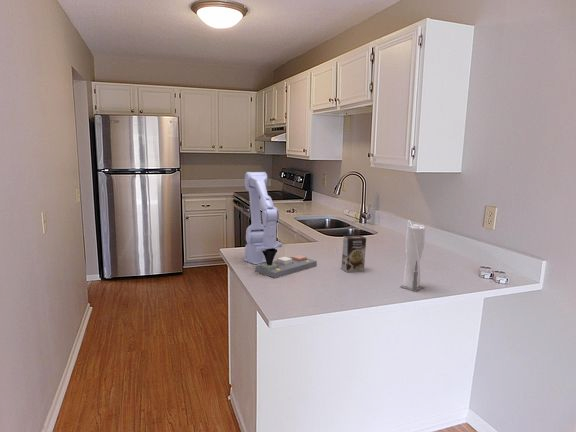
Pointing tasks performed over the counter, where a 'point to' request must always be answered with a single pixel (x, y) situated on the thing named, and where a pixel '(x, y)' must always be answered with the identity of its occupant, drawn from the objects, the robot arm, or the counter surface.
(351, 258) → the coffee box
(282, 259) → the cream key
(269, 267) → the sage key
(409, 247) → the skyscraper
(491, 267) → the counter surface
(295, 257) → the terracotta key
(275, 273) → the keypad
